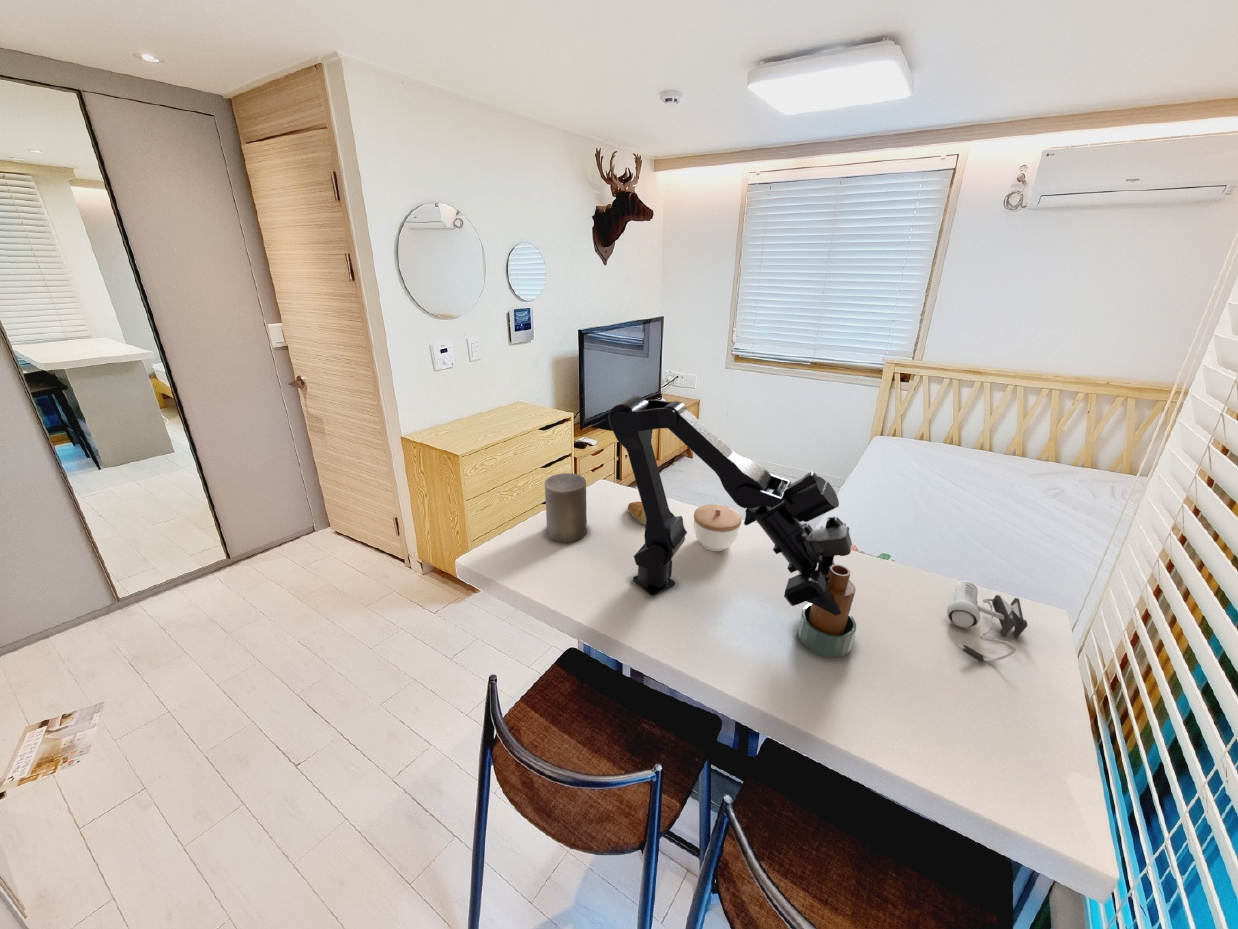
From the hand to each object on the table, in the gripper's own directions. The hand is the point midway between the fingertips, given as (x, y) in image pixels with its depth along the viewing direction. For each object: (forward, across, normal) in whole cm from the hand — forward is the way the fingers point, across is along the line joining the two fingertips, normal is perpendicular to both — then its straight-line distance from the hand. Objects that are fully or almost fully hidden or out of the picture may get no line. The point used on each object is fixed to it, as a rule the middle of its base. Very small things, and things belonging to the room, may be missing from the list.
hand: (840, 603), depth 87 cm
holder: (+5, 0, +7) cm, 9 cm away
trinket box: (-13, +20, +26) cm, 36 cm away
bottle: (+4, 0, +6) cm, 7 cm away
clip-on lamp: (+23, +15, -11) cm, 30 cm away
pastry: (-27, +24, +40) cm, 54 cm away
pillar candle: (-36, +8, +50) cm, 62 cm away
